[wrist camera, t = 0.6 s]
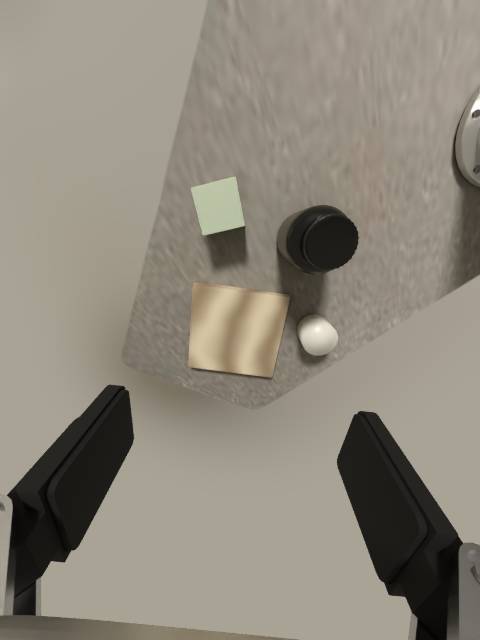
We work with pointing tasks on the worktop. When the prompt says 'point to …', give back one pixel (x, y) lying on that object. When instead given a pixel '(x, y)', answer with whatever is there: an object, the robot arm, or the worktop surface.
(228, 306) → the birch board
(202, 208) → the sage block
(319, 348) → the white rounded lump
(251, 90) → the worktop surface
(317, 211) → the supplement bottle
